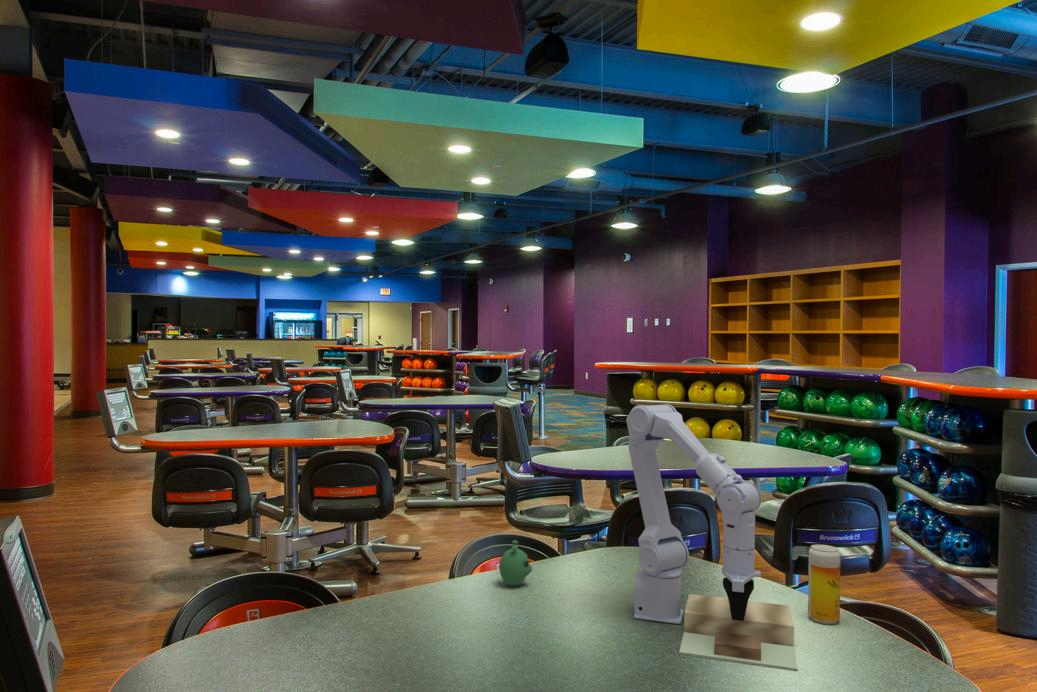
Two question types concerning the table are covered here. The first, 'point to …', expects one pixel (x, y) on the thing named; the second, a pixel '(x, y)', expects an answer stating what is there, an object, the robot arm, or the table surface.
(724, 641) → the walnut tile
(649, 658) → the table surface
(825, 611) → the beer can
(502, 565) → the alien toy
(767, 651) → the sage mat
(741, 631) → the birch deck
